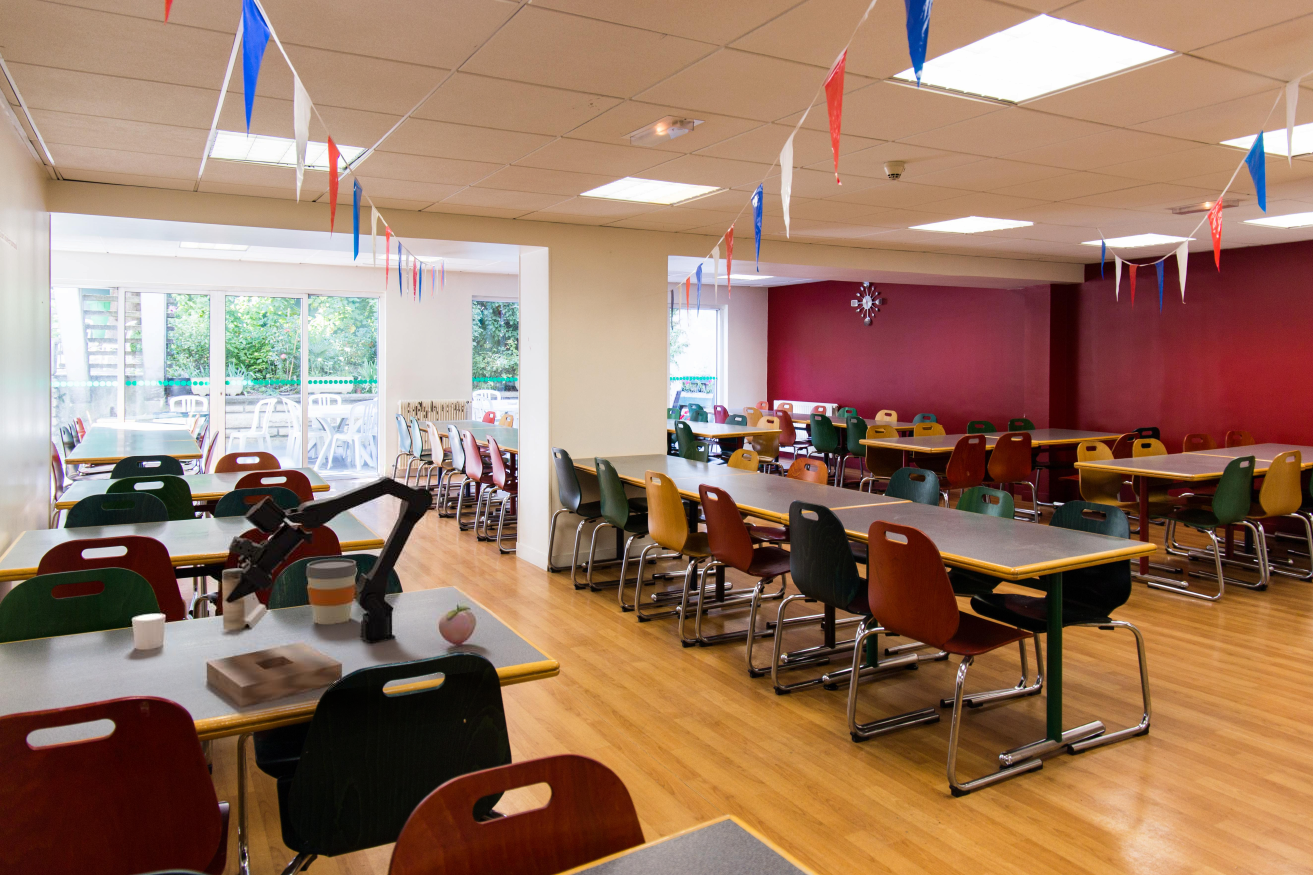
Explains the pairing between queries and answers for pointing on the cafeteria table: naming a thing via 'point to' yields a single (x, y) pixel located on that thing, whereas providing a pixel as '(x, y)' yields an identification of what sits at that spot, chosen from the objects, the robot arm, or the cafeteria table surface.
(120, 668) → the cafeteria table surface
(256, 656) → the socket block
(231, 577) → the beech pin
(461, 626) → the decorative fruit
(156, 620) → the white short cylinder
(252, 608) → the hinge
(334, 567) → the reusable coffee cup
